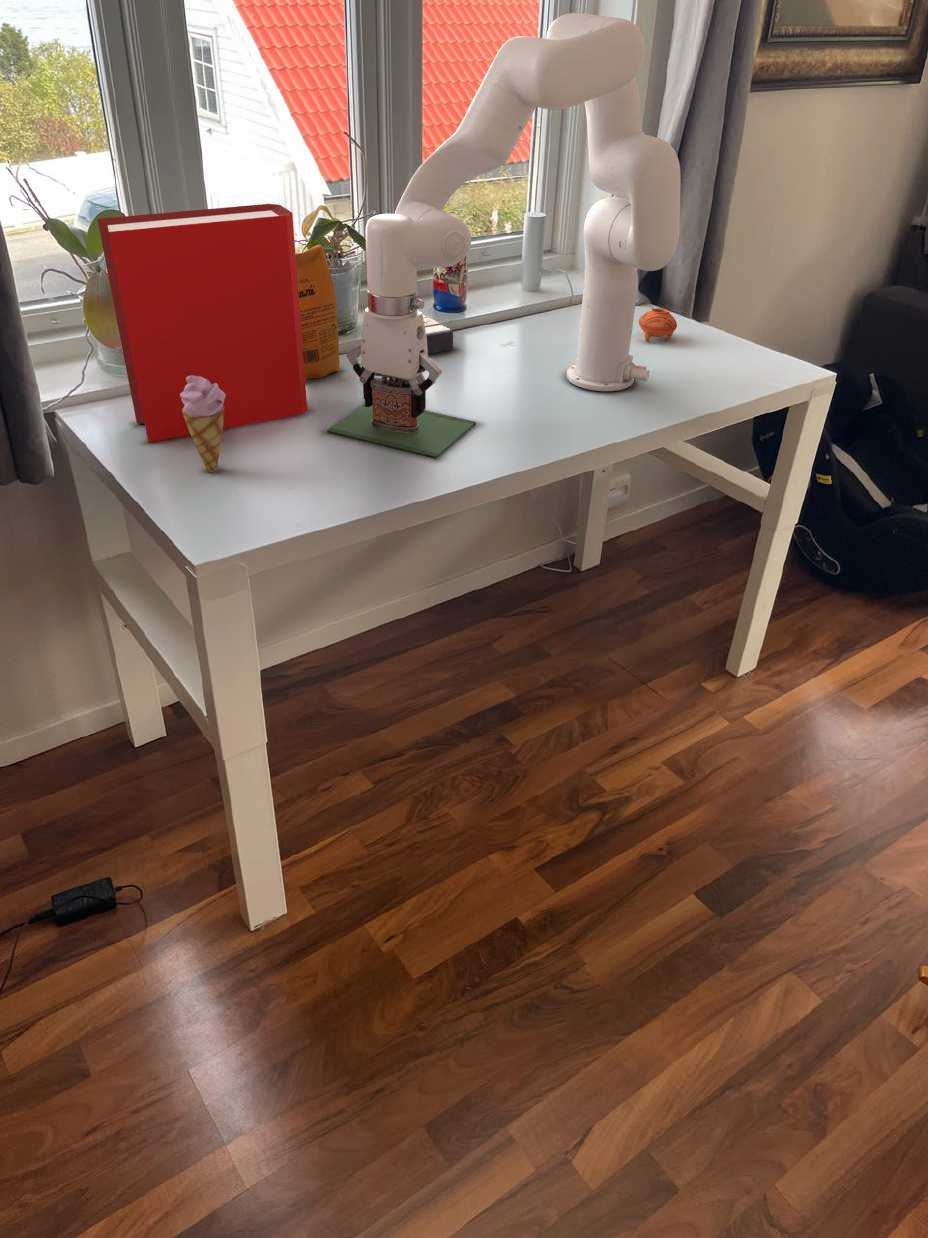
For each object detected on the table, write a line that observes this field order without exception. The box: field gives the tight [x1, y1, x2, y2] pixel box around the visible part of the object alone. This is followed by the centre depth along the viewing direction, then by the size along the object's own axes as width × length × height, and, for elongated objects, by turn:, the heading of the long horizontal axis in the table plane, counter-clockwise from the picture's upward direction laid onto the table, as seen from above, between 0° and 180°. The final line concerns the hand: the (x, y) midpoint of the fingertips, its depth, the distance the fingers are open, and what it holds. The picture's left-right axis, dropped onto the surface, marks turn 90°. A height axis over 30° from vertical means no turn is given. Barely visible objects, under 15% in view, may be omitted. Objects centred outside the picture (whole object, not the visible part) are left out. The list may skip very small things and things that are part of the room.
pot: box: [638, 307, 678, 343], centre depth 193 cm, size 8×8×7 cm
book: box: [97, 203, 308, 444], centre depth 148 cm, size 27×8×32 cm, turn 118°
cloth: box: [326, 404, 477, 460], centre depth 156 cm, size 20×15×1 cm
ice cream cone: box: [180, 375, 226, 474], centre depth 138 cm, size 7×6×15 cm
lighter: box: [371, 373, 418, 433], centre depth 153 cm, size 8×3×10 cm, turn 71°
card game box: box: [422, 313, 454, 355], centre depth 188 cm, size 11×4×15 cm
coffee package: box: [295, 244, 341, 380], centre depth 169 cm, size 10×12×22 cm
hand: (394, 409), depth 154 cm, fingers closed on lighter, 8 cm apart
